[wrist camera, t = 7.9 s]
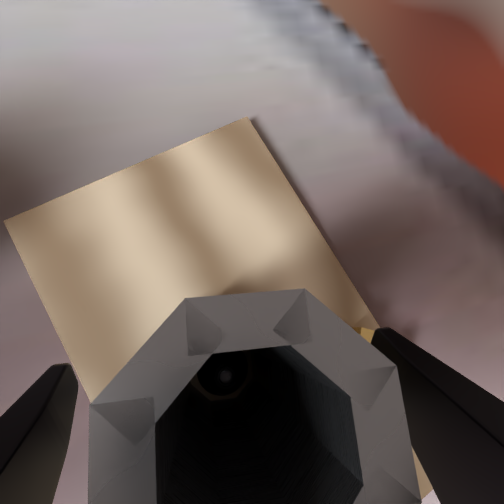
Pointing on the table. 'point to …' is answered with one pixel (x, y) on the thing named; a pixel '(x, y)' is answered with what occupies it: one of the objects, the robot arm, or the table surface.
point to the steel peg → (223, 372)
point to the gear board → (175, 250)
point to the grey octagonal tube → (254, 412)
